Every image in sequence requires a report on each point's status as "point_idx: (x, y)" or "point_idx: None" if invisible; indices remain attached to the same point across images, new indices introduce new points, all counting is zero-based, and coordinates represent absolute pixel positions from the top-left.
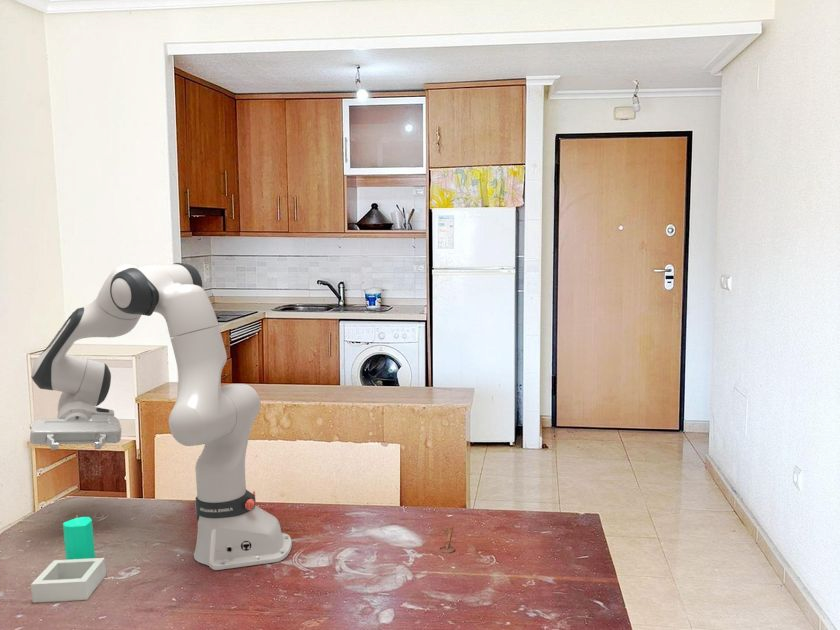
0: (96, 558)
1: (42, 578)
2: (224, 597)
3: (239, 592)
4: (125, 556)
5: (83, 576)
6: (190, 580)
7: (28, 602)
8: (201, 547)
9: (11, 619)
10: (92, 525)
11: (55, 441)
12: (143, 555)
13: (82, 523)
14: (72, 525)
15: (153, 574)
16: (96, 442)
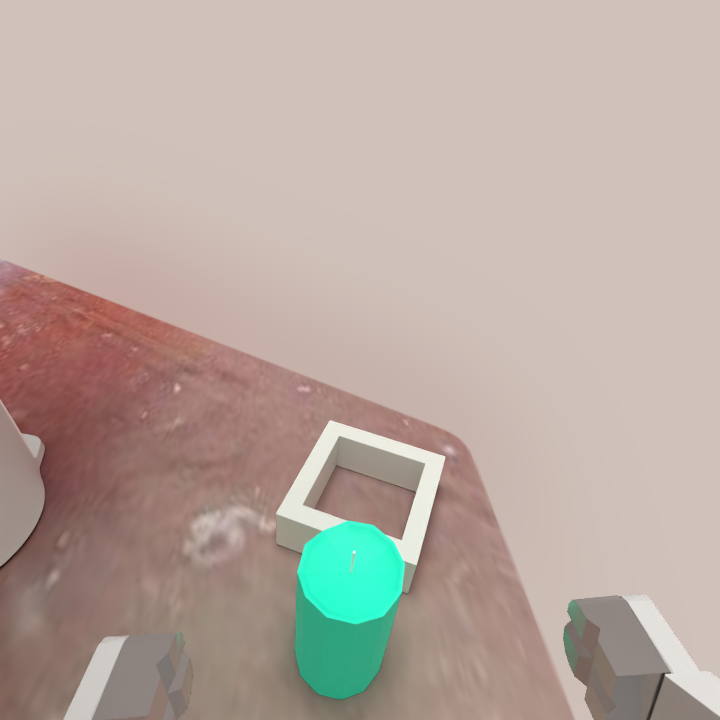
0: (297, 518)
1: (425, 472)
2: (101, 359)
3: (69, 362)
4: (197, 653)
5: (333, 441)
6: (114, 432)
7: (446, 491)
8: (21, 468)
9: (461, 443)
10: (297, 583)
11: (633, 642)
12: (144, 630)
13: (333, 563)
14: (369, 561)
15: (170, 492)
16: (160, 639)
